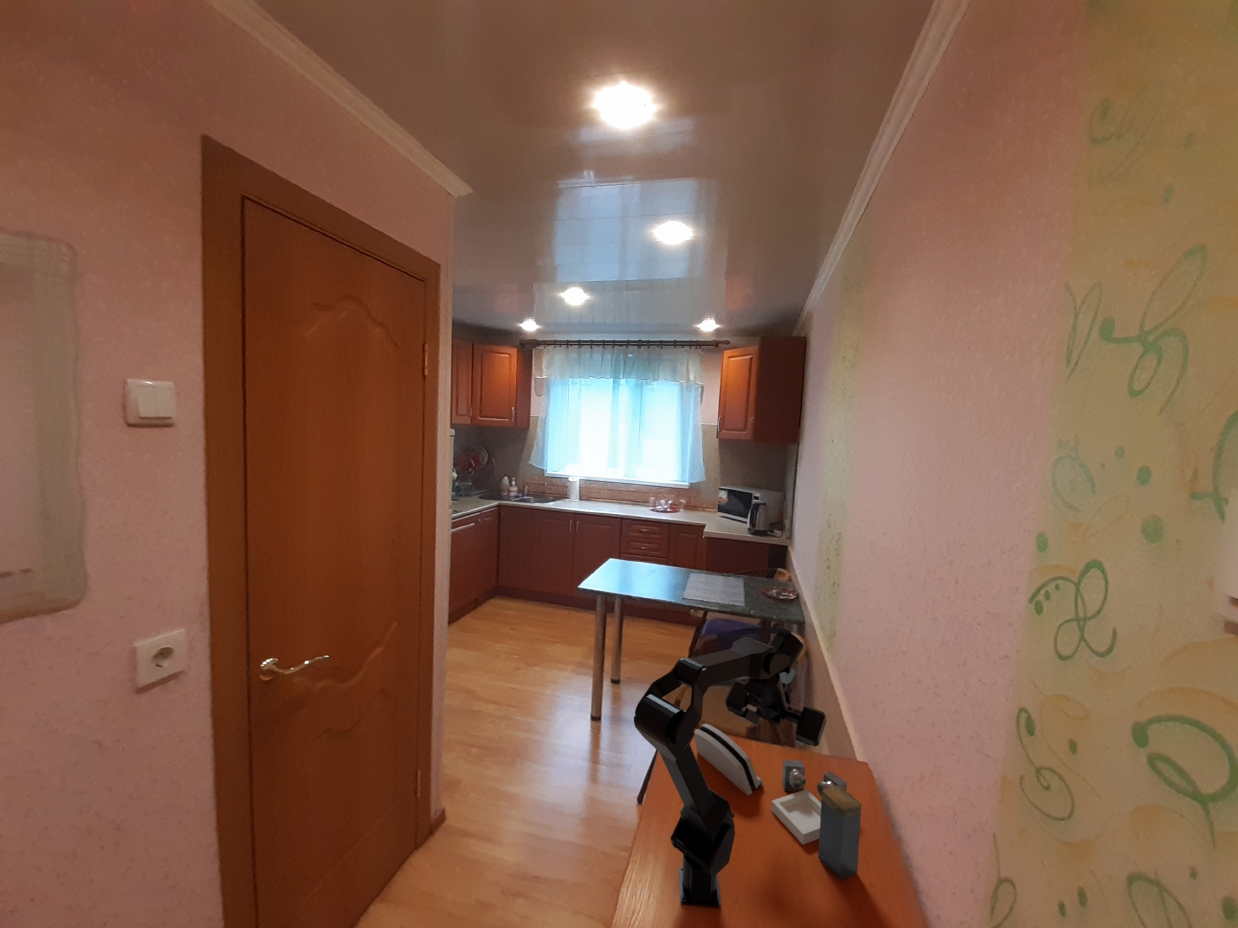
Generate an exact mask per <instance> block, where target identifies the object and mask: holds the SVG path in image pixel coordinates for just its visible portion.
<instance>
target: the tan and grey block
mask: <svg viewBox="0 0 1238 928" xmlns="http://www.w3.org/2000/svg"><path fill="white" fill-rule="evenodd" d="M820 802H821V818H820V837H819V839H818V840H819V842H818V857H817V858H818V859H819V861H821V863H822V864H824V866H825V867H826V868H827V869H828V870H829V871H830V872H831V873H832V874H833V876H835V878H836V879H837V880H838V881H839V882H841V881H843V880H846V879H848V878H850V877H852V876H853V877H854V876H855V875H857V874H858V864H859V849H860V848H859V847H860V833H861V832H860V831H861V817H862V815H861V814H862V803H861V802H860V801H858V800H857V799H856V798H855V797H854V796H852V794H850V793H849V792H848V791H847V790H846V791H845V790H844V789H843V788H842V787H841V786H840V785H837V786H834V787H831V788H828V789H825V790H822V797H821V801H820Z"/></svg>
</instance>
